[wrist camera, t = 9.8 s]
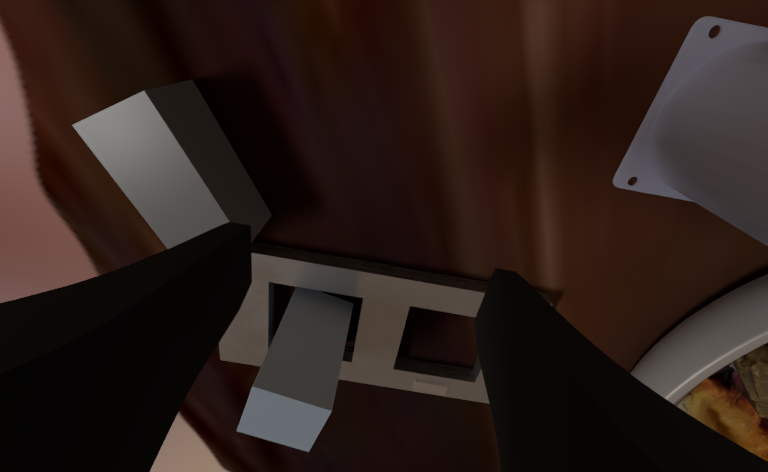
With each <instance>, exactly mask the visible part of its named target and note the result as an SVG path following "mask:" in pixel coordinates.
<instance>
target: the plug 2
mask: <svg viewBox="0 0 768 472" xmlns="http://www.w3.org/2000/svg"><path fill="white" fill-rule="evenodd" d="M352 309H353V303H351V302H348V301H345V300H342V299H339V298H337V297H334V296H331V295H328V294H325V293H323V292H320V291H317V290H313V289H307V288H301V287H296V288H295V291H294V293H293V295H292V297H291V300H290V302H289V304H288V306H287V309H286V311H285V313H284V316H283V318H282V320H281V322H280V325H279V327H278V329H277V332H276V334H275V336H274V338H273V341H272V343H271V345H270V348H269V350H268V352H267V354H266V357H265V359H264V361H263V363H262V366H261V368H260V370H259V373H258V375H257V377H256V379H255V382H254V384H253V386H252V389H251V392H250V395H249V398H248V400H247V403H246V406H245V409H244V412H243V414H242V417H241V420H240V423H239V426H238V428H237V431H238V432H242V433H245V434H248V435H252V436H255V437H259V438H262V439H266V440H269V441H273V442H276V443H280V444H283V445H286V446H290V447H293V448H297V449H300V450H304V451H307V452H309V450H310V449H311V447H312V445H313V443H314V442H315V440H316V438H317V436H318V435H319V433H320V431H321V429H322V427H323V426H324V424H325V422H326V420H327V419H328V417H329V415H330V413H331V412H332V408H333V403H334V398H335V393H336V388H337V383H338V378H339V373H340V368H341V363H342V358H343V353H344V348H345V343H346V339H347V334H348V329H349V324H350V319H351V314H352Z"/></svg>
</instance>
